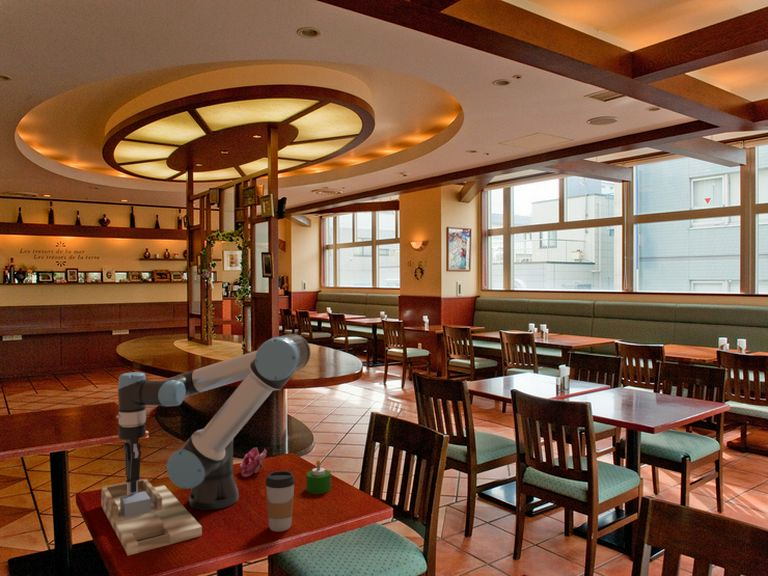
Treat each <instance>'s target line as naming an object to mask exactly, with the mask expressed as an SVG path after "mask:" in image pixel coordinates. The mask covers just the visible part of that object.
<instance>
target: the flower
mask: <svg viewBox="0 0 768 576" xmlns="http://www.w3.org/2000/svg"><path fill="white" fill-rule="evenodd" d="M267 454H268V451H267V449H266V448H264V450H263V451H262V452H261V453H259V449H258V447H253V448H251V449H250V450H249V451H248V452H247V453H246V454H244V456H243V459H242V462H241V463H239V464H240V465H239V466H240V469H242V471H240V473H241V476H242V477H244V478H245V477H246V478H247V477H251V476H252V475H253V474H254V473H255V474H257V473H258V470H259V469H264V470H266V468H265V467H264V464H263V463H262V462H263V460H264V459H265V457H266V456H267Z"/></svg>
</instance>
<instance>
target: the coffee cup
mask: <svg viewBox="0 0 768 576" xmlns="http://www.w3.org/2000/svg"><path fill="white" fill-rule="evenodd" d="M295 482H296V481H295V476H294V474H293V472H292V471H288V470H277V471H271V472H270V473H268V474H267V476H266V479H265V486H266V487H265V488H266V506H267V518H268V520H267V521H268V527H269V529H270V531H272V532H278V533H279V532H284V531H287V530H289V529H290V528H291V526H292V521H293V519H292V518H293V511H294V510H293V508H294V498H295V497H294V495H295V493H294V490H295Z"/></svg>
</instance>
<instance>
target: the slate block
mask: <svg viewBox="0 0 768 576" xmlns="http://www.w3.org/2000/svg"><path fill="white" fill-rule="evenodd" d="M120 510H121V512H122V514H123V516H124V517H125V518H126V517H131V516H135V515H140V514H144V513H148V512H151V499H150V497H149V496H148V494H147V493H146V492H145V491H144V492H139V493H134V494H129V495H124V496H120Z"/></svg>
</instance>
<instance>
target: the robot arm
mask: <svg viewBox="0 0 768 576" xmlns="http://www.w3.org/2000/svg"><path fill="white" fill-rule="evenodd" d="M310 358H311V348H310V344H309V342H308V340H306V339H305V338H304V337H303V336H301V335H299V334H296V333H287V334H284V335H281V336H274V337H271V338H270V339H267V340H266V341H264V342H263V343H262V344H261V345H260V346H259V347H258V349H257V350H253V351H250V352H248V353H245V354H241V355H238V356H235V357H232V358H229V359H225V360H222V361H219V362H216V363H213V364H209V365H206V366H203V367H199V368H197V369H194V370H191V371H186V372H182V373H180V374H177V375H175V376H172V377H168V378H165V379H161V380H160V379H159V380H157V379H156V380H153V379H152V380H151V379H147V378H146V373H145V372H140V371H135V372H126V373H122V374H120V375H119V376H118V387H117V392H118V393H117V394H118V395H117V396H118V414H117V415H116V417H115V418H116V419H118V425H119V426H118V427H117V428H118V430H117V431H118V438H119V440H123V441H125V442H124V443H123V449H124V465H125V472H124V473H125V476H126V479H125V482H126V483H127V495H129V494H134V493H138V480H140V471H141V456H142V451H141V446H142V445H141V443H140V442H139V439H141V438H142V439H143V438H144V437H145V436H146V435H147V433H146V431H147V429H146V427H147V425H146V421H147V415H146V414H147V413H146V412H147V409H146V406H158V407H159V406H161V407H169V408H170V407H179V406H180V405H182V403H183V401H184V400H185V398H188V397H191V396H193V395H198V394H200V393H204V392H206V391H210V390H212V389H213V390H214V389H216V388H220V387H223V386H227V385H229V384H233V383H236V382H239V381H241V382H240V384H239V385H238V386H237V388H236V389H234V391H233V392H232V394H231V395H230V396H229V398H228V399H227V400H226V401H225V402H224V403H223V405H222V406H221V407H220V408H219V410H218V411H217V412H216V413H215V414H214V415H213V417H212V418H211V419H210V420H209V422H208V423H207V424H206V426H205V427H204V428H201V429H197V430H196V431H194V432H193V433H192V434H191V435H190V437H189V438H188V439H187V440H186V442H185V443H184V444H183V445H182V446H181V448H179V449H177V450H175V451H173V453H172V454H171V455H170V456H169V457H168V459H167V463H166V470H167V475H168V478H169V479H170V481H171V482H172V483H173V484H174V485H175V486H176V487H178V488H180V489H184V490H187V489H188V490H189V489H191V491H190V494H189V499H188V500H189V502H188V504H189V506H190V507H191V508H192V509H195V510H202V511H209V510H219V509H224V508H226V507H230V506H232V505H234V504H236V503H237V502H238V501H239V489H238V486H237V483H236V480H235V477H234V438H235V437H236V436H237V434H239V432H240V431H241V430H242V429H243V427H244V426H246V424H247V423H248V422H249V420H251V418H252V416H254V414H255V413H256V412H257V410H258V409H259V408H260V407H261V406H262V405H263V404H264V402H265V401H266V400H267V398H269V396H270V395H271V394H272V392H273V391H281V389H283V387H284V386H285V385H286V384H287V382H288V381H289V380H290V379H291V378H292V377H293V375H294V374H295V373H297V372H298V371H300V370H302V369H303V368H305V366H307V364H308V362H309V361H310Z"/></svg>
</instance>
